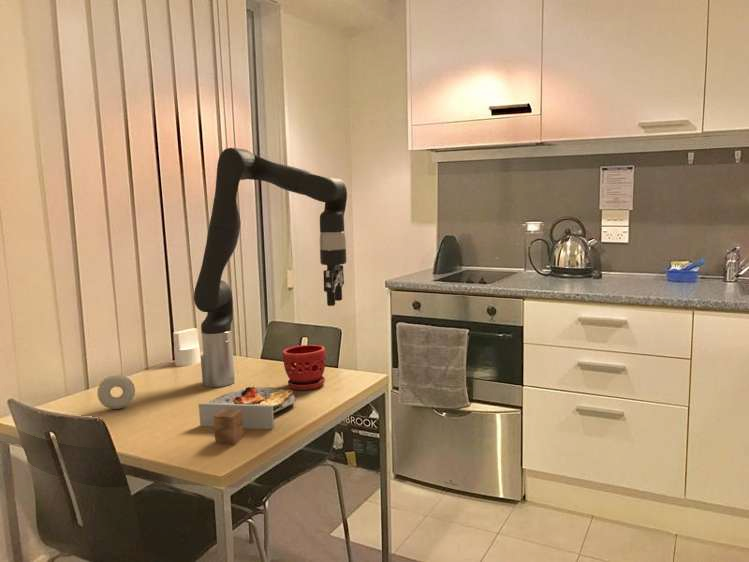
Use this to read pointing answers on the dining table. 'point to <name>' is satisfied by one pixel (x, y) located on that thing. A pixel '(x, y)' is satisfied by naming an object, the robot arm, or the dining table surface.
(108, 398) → the donut
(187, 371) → the dining table surface
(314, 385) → the plant pot
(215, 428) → the walnut block
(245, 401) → the food plate
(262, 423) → the grey divider panel
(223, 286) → the robot arm
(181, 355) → the base with upright slab
